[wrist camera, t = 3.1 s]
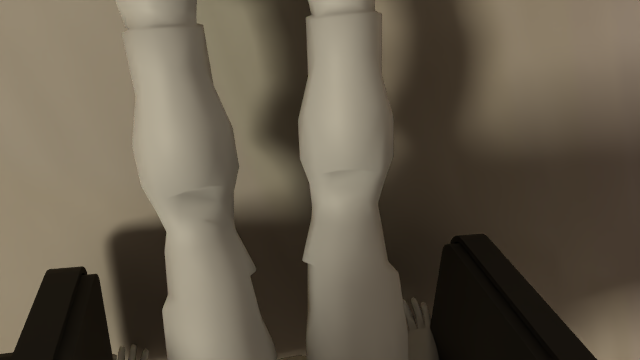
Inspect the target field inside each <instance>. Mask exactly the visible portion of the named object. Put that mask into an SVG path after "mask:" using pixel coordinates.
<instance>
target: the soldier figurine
mask: <svg viewBox="0 0 640 360" xmlns="http://www.w3.org/2000/svg"><path fill="white" fill-rule="evenodd" d="M115 1H116V4H117V7H118V9H119V12H120V15H121V17H122V20H123V23H124V25H125V28H128V29H127V30H126V31H124V32H123V33H122V38H123V42H124V47H125V51H126V56H127V60H128V65H129V69H130V74H131V78H132V83H133V87H134V92H135V96H136V100H135V112H134V125H133V138H132V148H133V153H134V157H135V161H136V166H137V170H138V174H139V179H140V183H141V187H142V189H143V190H144V192H145V194H146V195H147V197H148V199H149V200H150V202H151V204H152V205H153V207H154V209H155V210H156V212H157V214H158V216H159V218H160V220H161V222H162V224H163V226H164V228H165V230H166V232H167V234H166V243H165V263H166V275H167V287H168V296H167V299H166V301H165V304H164V306H163V309H162V314H163V323H164V332H165V341H166V350H167V359H168V360H439V356H438V352H437V347H436V344H435V341H434V338H433V335H432V332H431V329H430V325H431V318H430V314H429V311H428V308H427V306H426V304H425V302H422V303H421V308H422V312H423V314H422V312H421V310H420V307H419V305H418V303H417V300H416V299H415V298H412V299H411V303H412V306H413V309H414V313H415V316H416V323H417V326H416V323H415V320H414V317H413V315H412V313H411V311H410V309H409V307H408V304H407V302H406V301H405V300H404V299H403V298H402V291H401V285H400V279H399V273H398V272H397V270H396V269H395V268H394V267H393V266H392V265H391V264H390V263H389V262H388V258H387V252H386V246H385V241H384V235H383V229H382V224H381V218H380V213H379V208H378V202H379V198H380V195H381V191H382V188H383V185H384V181H385V179H386V176H387V173H388V170H389V168H390V165H391V162H392V159H393V157H394V117H393V113H392V110H391V106H390V103H389V99H388V95H387V92H386V88H385V84H384V81H383V77H382V14H381V13H379V12H377V11H375V0H308V2H309V6H310V11H311V15H310V16H308V17H306V35H307V59H308V80H307V84H306V88H305V92H304V97H303V101H302V105H301V110H300V114H299V118H298V129H299V149H300V160H301V163H302V165H303V168H304V171H305V173H306V176H307V178H308V181H309V184H310V192H311V201H312V217H311V223H310V227H309V232H308V236H307V241H306V245H305V250H304V254H303V259H302V261H304V262H306V263H308V310H307V330H306V350H307V356H302V355H298V356H293V357H287V358H281V359H277V354H276V350H275V345H274V343H273V341H272V339H271V336H270V334H269V332H268V330H267V327H266V325H265V323H264V321H263V318H262V316H261V314H260V310H259V306H258V303H257V299H256V295H255V291H254V288H253V284H252V280H251V277H250V275H252V274H253V273H254V272H255V271H256V267H255V265H254V263H253V261H252V259H251V257H250V256H249V254H248V252H247V250H246V248H245V246H244V244H243V242H242V241H241V239H240V237H239V235H238V233H237V231H236V229H235V223H234V188H235V183H236V179H237V174H238V169H239V163H238V158H237V152H236V146H235V140H234V134H233V128H232V125H231V123H230V121H229V119H228V116H227V114H226V112H225V110H224V108H223V105H222V103H221V101H220V99H219V96H218V94H217V92H216V90H215V88H214V85H213V80H212V74H211V68H210V62H209V57H208V51H207V45H206V39H205V33H204V27H203V25H201V24H197V23H196V4H197V0H115ZM423 316H424V318H423ZM406 320H407V323H406ZM407 324H408V328H407ZM408 329H409V330H408ZM136 351H137V346H136V345H134V344H132V345H131V347H130V352H129V358H128V360H136ZM148 355H149V350H148V349H144V350H143V352H142V356H141V359H140V360H148ZM112 357H113V360H125V347H124V346H120V348H119V352H118V359H117V355H115V354H112Z"/></svg>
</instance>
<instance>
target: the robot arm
mask: <svg viewBox="0 0 640 360" xmlns="http://www.w3.org/2000/svg"><path fill="white" fill-rule="evenodd" d="M430 329H431V332H432V335H433V338H434V341H435V344H436V347H437V352H438V356H439V360H597V359H596V358H595V357H594V356H593V355H592V353H591V352H590V351H589V350H588V349H587V348H586V347H585V346H584V344H583V343H582V342H581V341H580V340H579V339H578V338H577V337H576V336H575V334H574V333H573V332H572V331H571V330H570V329H569V328H568V327H567V325H566V324H565V323H564V322H563V321H562V320H561V319H560V318H559V316H558V315H557V314H556V313H555V312H554V311H553V310H552V309H551V307H550V306H549V305H548V304H547V303H546V302H545V301H544V300H543V299H542V297H541V296H540V295H539V294H538V293H537V292H536V291H535V290H534V288H533V287H532V286H531V285H530V284H529V283H528V282H527V281H526V279H525V278H524V277H523V276H522V275H521V274H520V273H519V272H518V271H517V269H516V268H515V267H514V266H513V265H512V264H511V263H510V262H509V260H508V259H507V258H506V257H505V256H504V255H503V254H502V253H501V251H500V250H499V249H498V248H497V247H496V246H495V245H494V244H493V242H492V241H491V240H490V239H489V238H488V237H487V236H486V235H484V234H473V235H461V236H455V237H453V239H452V240H451V243H450V244H446V245H445V246H444V247H443V251H442V256H441V262H440V269H439V275H438V281H437V287H436V294H435V300H434V306H433V312H432V318H431V325H430ZM0 360H113V357H112V351H111V345H110V339H109V333H108V327H107V321H106V315H105V309H104V304H103V298H102V292H101V286H100V280H99V277H98V275H97V274H89V275H87V271H86V269H85V268H84V267H71V268H59V269H49V270H47V272H46V273H45V276H44V278H43V281H42V283H41V286H40V288H39V291H38V293H37V295H36V298H35V300H34V303H33V305H32V308H31V310H30V313H29V315H28V318H27V320H26V323H25V325H24V328H23V330H22V333H21V335H20V338H19V340H18V343H17V345H16V347H15V350H14V352H13V353H5V354H0Z"/></svg>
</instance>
